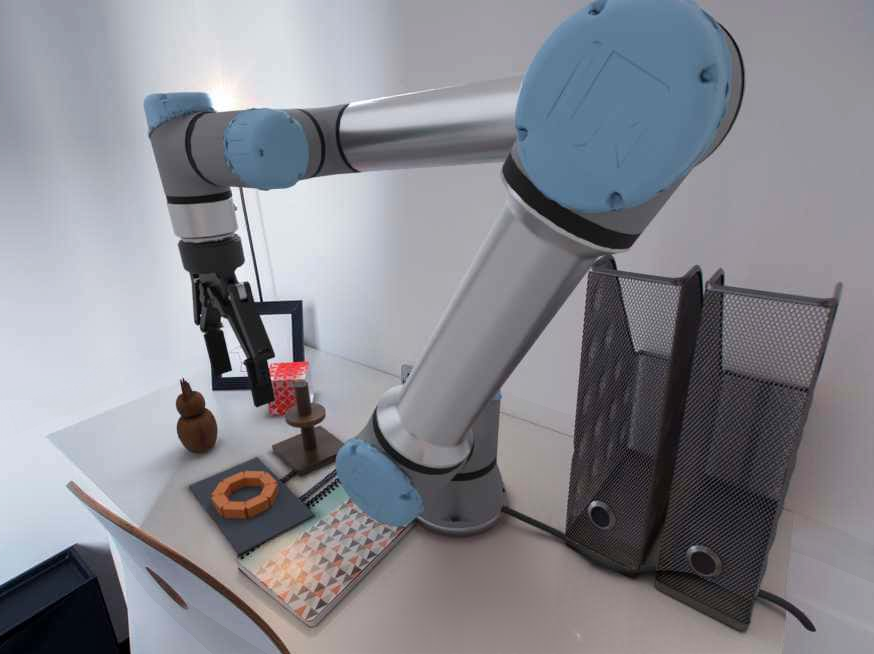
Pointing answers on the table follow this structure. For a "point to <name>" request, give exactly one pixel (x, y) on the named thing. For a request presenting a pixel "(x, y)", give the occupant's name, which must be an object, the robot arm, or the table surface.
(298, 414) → the ring stand
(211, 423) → the wooden figurine
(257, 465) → the mat
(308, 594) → the table surface
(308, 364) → the red patterned cube
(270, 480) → the ring
